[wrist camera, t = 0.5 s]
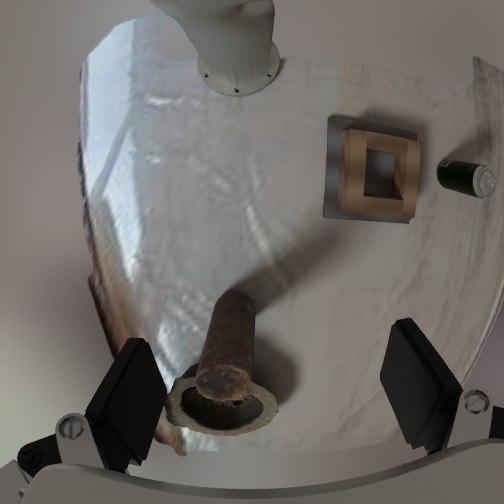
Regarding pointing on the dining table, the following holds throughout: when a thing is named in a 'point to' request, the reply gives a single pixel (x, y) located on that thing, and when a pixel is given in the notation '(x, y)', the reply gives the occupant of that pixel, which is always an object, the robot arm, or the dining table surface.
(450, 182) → the beer can
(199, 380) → the brown cylinder
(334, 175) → the well block
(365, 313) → the dining table surface
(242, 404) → the stone bowl
